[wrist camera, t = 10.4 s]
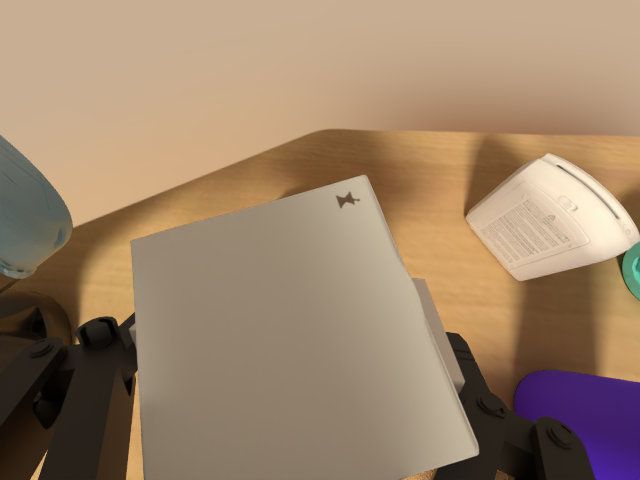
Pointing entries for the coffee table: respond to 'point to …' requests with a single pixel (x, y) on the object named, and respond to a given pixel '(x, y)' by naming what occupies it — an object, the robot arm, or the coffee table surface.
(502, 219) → the photo printer
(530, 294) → the coffee table surface
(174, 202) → the coffee table surface
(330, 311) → the supplement box
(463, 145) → the coffee table surface
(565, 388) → the bottle
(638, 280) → the mint green rounded piece
